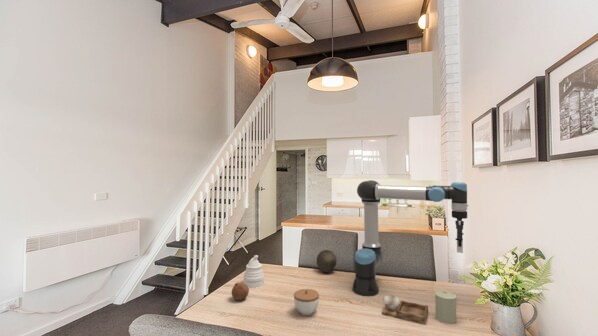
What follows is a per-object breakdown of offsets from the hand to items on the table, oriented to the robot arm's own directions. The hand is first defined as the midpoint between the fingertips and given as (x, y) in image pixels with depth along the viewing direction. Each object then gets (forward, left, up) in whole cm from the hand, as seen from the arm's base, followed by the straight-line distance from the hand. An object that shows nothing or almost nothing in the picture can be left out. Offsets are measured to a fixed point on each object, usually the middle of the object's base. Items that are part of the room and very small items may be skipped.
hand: (459, 249), depth 158 cm
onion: (-107, -57, -28) cm, 124 cm away
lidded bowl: (-68, -52, -28) cm, 90 cm away
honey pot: (-114, -36, -28) cm, 123 cm away
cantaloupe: (-82, +5, -28) cm, 87 cm away
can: (-6, -26, -28) cm, 38 cm away
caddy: (-24, -30, -28) cm, 47 cm away
